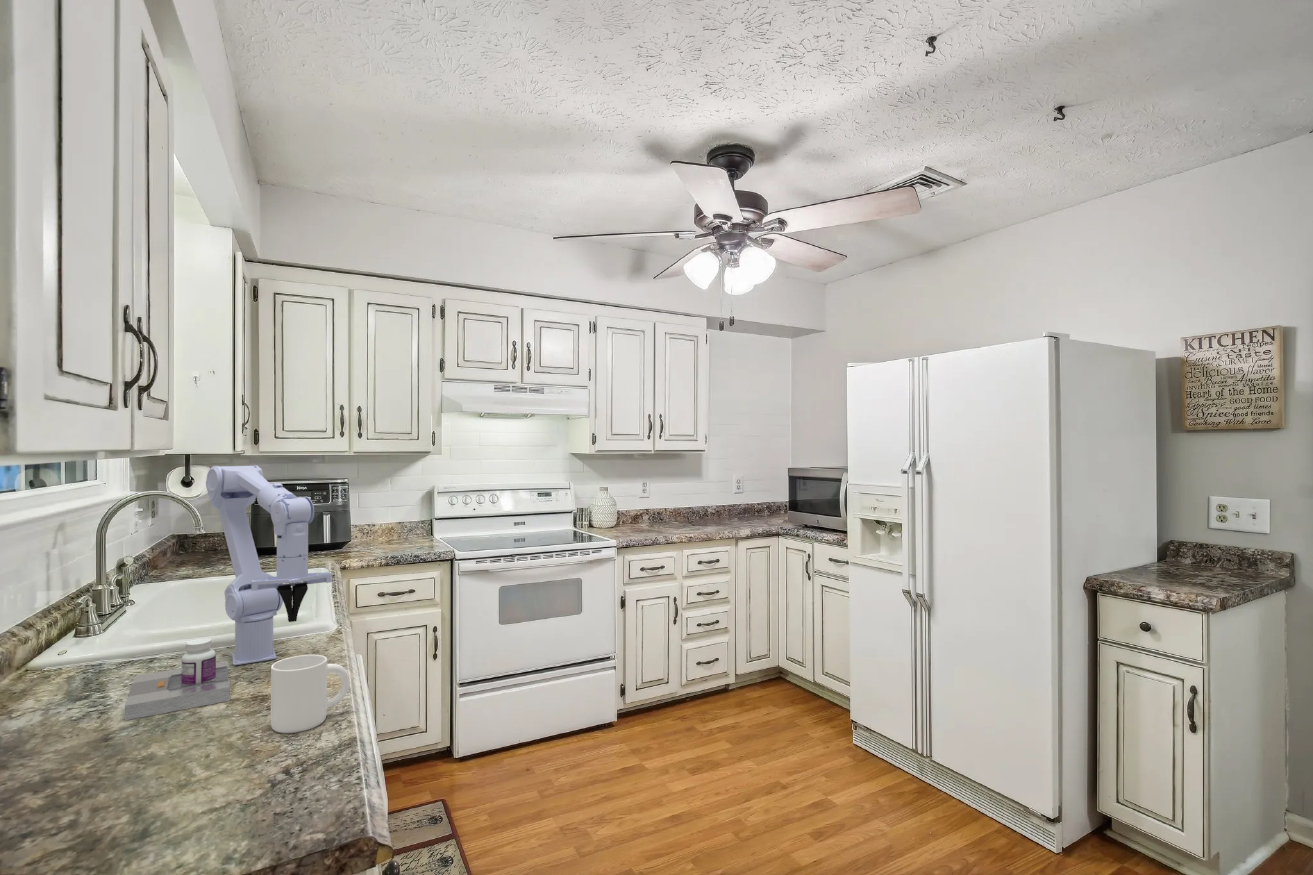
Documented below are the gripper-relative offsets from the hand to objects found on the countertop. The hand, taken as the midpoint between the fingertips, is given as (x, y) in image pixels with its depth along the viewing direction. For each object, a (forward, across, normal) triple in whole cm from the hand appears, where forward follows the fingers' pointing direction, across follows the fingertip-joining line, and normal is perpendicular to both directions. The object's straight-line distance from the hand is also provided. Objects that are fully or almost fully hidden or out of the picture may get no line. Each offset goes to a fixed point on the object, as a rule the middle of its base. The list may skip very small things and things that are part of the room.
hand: (292, 620), depth 135 cm
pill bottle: (+11, -16, -3) cm, 19 cm away
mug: (+11, 0, -30) cm, 32 cm away
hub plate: (+10, -19, -3) cm, 21 cm away
